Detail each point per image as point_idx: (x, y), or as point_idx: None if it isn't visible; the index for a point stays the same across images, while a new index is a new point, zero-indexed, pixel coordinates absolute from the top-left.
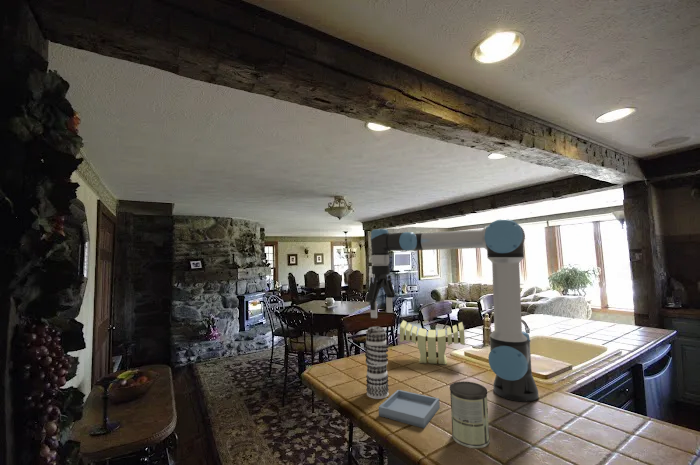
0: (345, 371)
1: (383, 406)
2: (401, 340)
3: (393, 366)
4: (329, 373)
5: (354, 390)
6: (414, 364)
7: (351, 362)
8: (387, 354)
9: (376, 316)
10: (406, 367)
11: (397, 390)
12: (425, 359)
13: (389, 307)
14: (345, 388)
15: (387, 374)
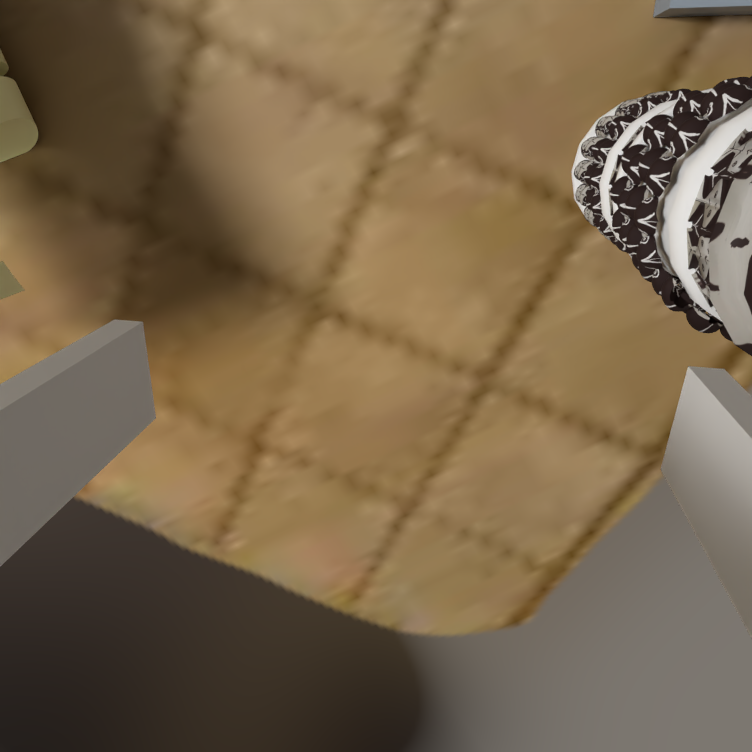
0: (407, 481)
1: None
2: (8, 282)
3: (189, 275)
4: (472, 537)
5: (640, 318)
6: (77, 165)
7: (270, 511)
8: (695, 100)
9: (733, 382)
10: (156, 192)
11: (686, 3)
12: (12, 83)
13: (97, 402)
14: (632, 374)
15: (623, 119)
